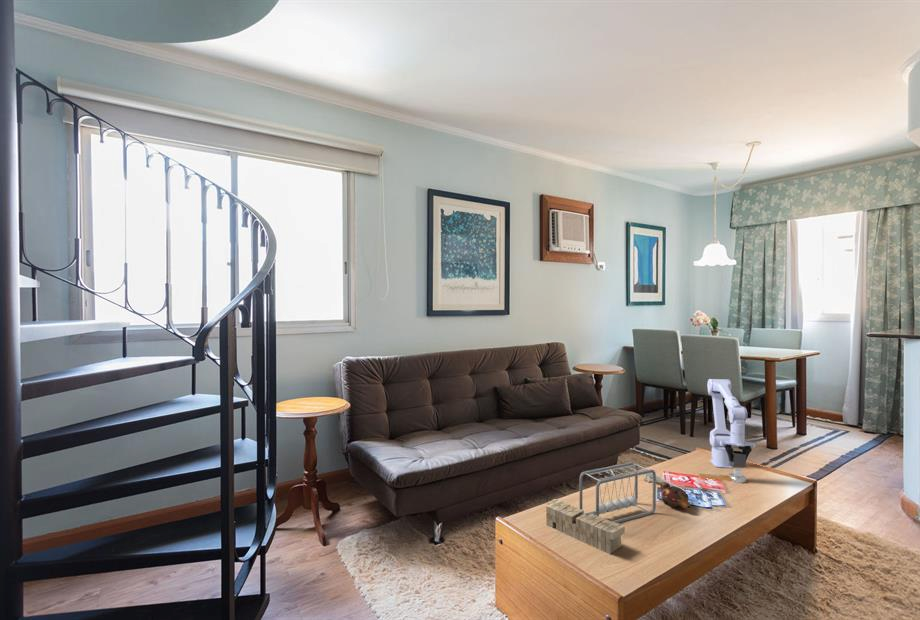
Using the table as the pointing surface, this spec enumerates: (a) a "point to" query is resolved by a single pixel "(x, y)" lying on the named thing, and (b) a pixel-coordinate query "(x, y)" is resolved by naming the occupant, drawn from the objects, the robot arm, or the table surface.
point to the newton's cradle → (624, 501)
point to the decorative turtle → (674, 496)
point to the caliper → (658, 480)
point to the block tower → (584, 526)
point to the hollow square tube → (738, 459)
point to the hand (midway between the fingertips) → (737, 461)
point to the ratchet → (735, 476)
